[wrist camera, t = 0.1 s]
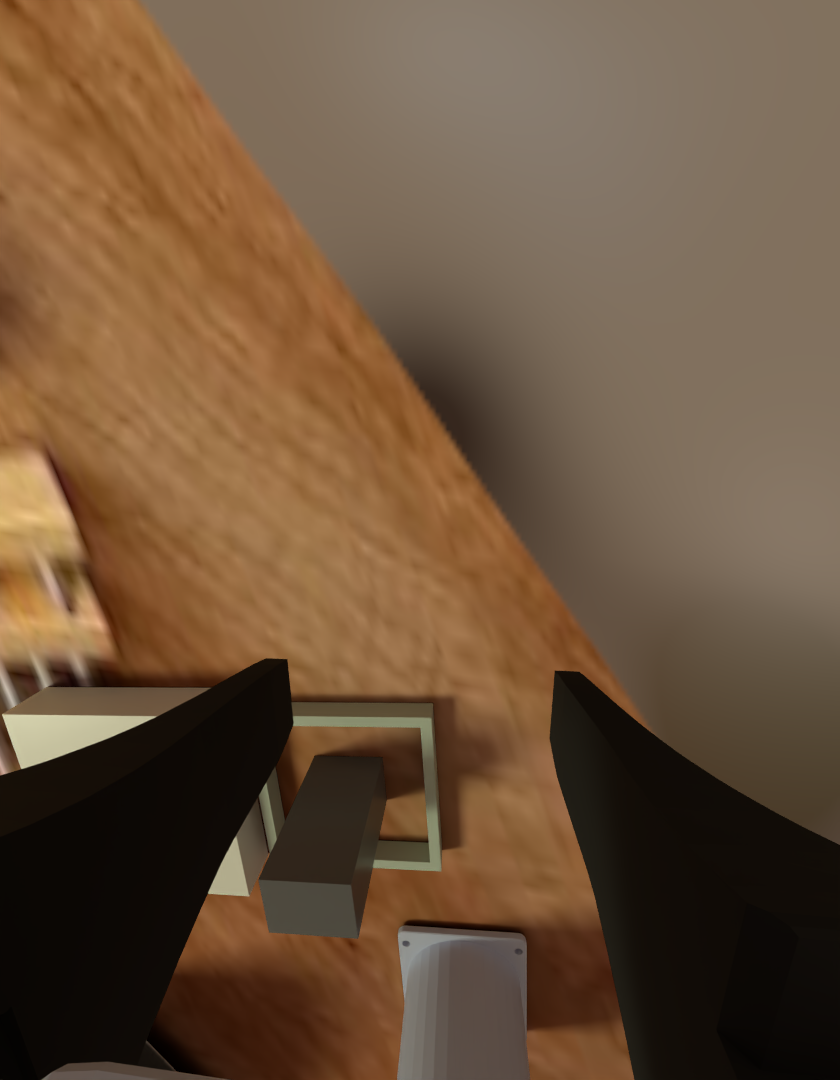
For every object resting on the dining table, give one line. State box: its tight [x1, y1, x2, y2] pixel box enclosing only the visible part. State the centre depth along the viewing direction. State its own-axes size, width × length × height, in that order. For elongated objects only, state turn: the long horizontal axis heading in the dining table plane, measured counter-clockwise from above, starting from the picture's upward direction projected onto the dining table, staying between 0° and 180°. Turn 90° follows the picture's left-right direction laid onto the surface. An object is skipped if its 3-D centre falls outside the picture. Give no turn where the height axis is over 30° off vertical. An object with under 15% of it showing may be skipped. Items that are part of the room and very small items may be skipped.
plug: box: [259, 756, 387, 939], centre depth 21 cm, size 3×4×7 cm
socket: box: [2, 687, 268, 896], centre depth 25 cm, size 12×12×2 cm
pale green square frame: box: [259, 702, 442, 871], centre depth 24 cm, size 10×10×1 cm
